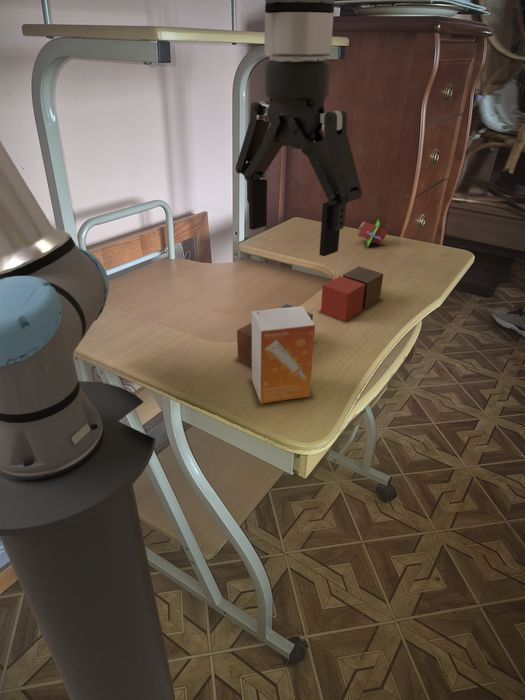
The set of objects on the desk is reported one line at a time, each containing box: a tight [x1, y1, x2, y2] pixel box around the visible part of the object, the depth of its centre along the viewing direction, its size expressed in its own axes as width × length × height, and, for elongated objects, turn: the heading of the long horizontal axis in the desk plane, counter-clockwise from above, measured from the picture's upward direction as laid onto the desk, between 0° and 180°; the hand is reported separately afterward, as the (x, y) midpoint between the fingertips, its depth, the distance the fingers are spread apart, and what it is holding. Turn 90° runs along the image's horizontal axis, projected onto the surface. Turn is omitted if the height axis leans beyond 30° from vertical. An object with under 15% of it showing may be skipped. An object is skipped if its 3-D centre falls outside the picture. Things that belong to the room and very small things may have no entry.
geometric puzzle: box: [357, 218, 389, 247], centre depth 132 cm, size 7×7×8 cm
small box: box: [251, 305, 316, 405], centre depth 76 cm, size 8×6×13 cm
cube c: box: [320, 275, 365, 322], centre depth 100 cm, size 6×6×6 cm
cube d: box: [342, 265, 384, 310], centre depth 104 cm, size 6×6×6 cm
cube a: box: [236, 322, 252, 368], centre depth 85 cm, size 6×6×6 cm
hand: (291, 239), depth 68 cm, fingers open, 13 cm apart
